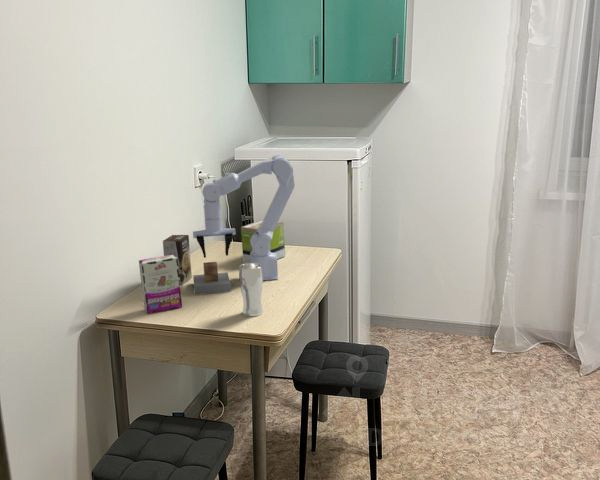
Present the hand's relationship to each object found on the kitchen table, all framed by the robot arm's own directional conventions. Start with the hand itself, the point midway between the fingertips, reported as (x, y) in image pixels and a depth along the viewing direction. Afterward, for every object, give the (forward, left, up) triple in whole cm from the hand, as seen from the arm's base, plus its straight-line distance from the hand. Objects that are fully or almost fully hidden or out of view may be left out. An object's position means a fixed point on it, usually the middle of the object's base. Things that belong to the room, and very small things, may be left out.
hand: (215, 255), depth 206 cm
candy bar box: (+18, +22, -10) cm, 30 cm away
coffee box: (+13, -4, -10) cm, 17 cm away
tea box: (-20, -22, -10) cm, 31 cm away
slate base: (+2, +6, -9) cm, 11 cm away
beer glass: (-9, +33, -10) cm, 36 cm away
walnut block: (+2, +7, -6) cm, 9 cm away
